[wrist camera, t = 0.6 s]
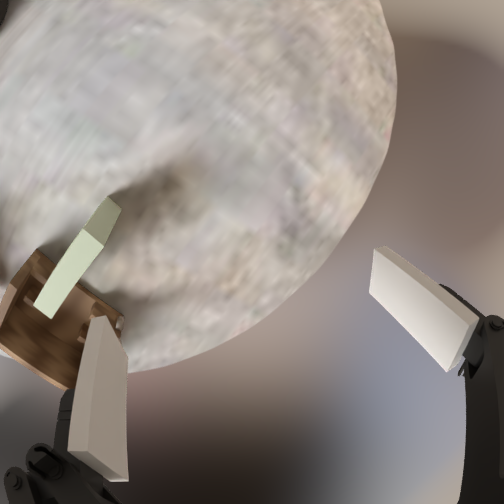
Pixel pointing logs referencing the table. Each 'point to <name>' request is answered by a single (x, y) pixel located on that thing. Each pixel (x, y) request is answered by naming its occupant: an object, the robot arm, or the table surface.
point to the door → (78, 257)
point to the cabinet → (49, 324)
